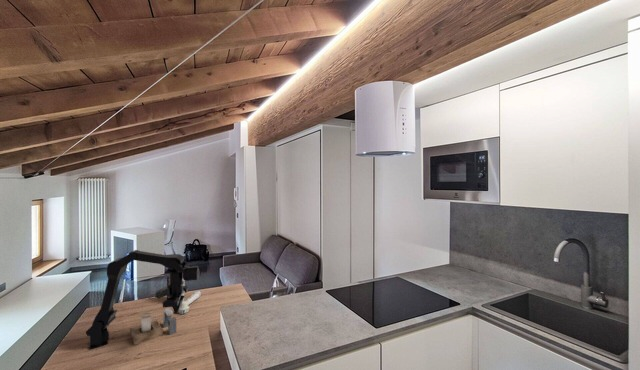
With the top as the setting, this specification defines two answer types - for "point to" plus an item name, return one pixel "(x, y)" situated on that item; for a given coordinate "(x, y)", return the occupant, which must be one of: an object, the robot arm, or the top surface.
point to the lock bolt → (168, 312)
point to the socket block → (146, 333)
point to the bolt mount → (169, 323)
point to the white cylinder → (145, 322)
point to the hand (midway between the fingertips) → (176, 313)
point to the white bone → (188, 302)
